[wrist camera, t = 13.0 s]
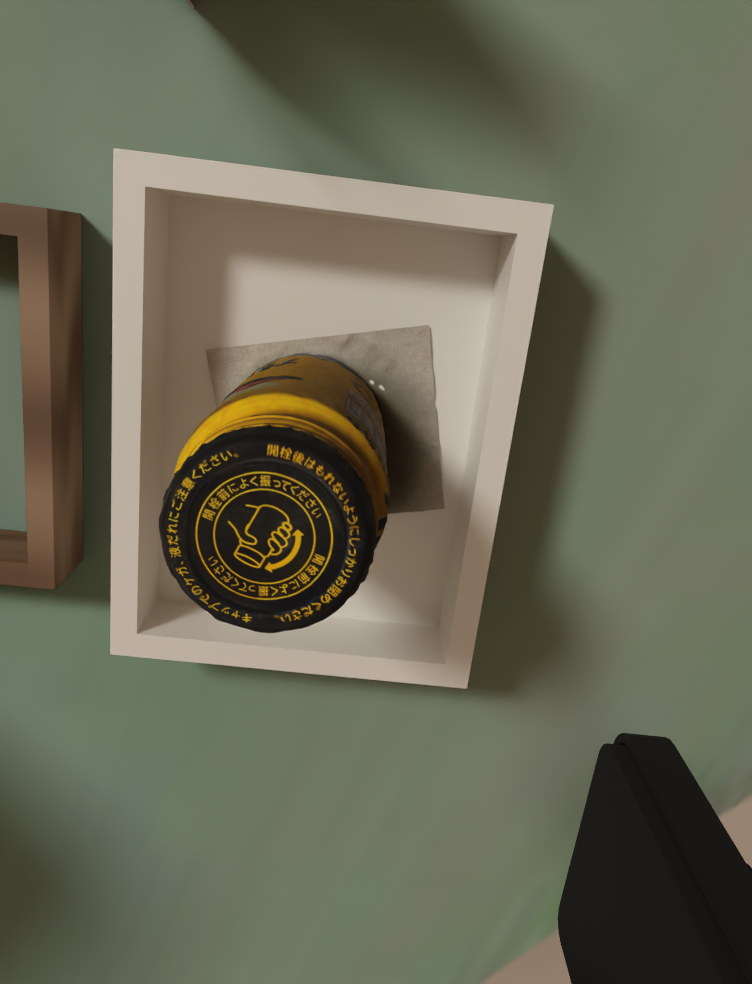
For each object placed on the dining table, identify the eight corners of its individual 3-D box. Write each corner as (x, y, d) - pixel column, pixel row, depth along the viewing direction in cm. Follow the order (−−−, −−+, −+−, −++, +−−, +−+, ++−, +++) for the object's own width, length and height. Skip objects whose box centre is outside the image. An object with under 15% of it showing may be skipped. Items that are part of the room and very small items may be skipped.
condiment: (206, 349, 27) (91, 413, 16) (428, 324, 27) (472, 371, 16) (238, 528, 30) (157, 696, 18) (443, 506, 29) (491, 661, 18)
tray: (150, 164, 26) (113, 147, 22) (527, 212, 27) (553, 204, 23) (140, 607, 32) (110, 654, 28) (455, 638, 32) (466, 688, 29)
